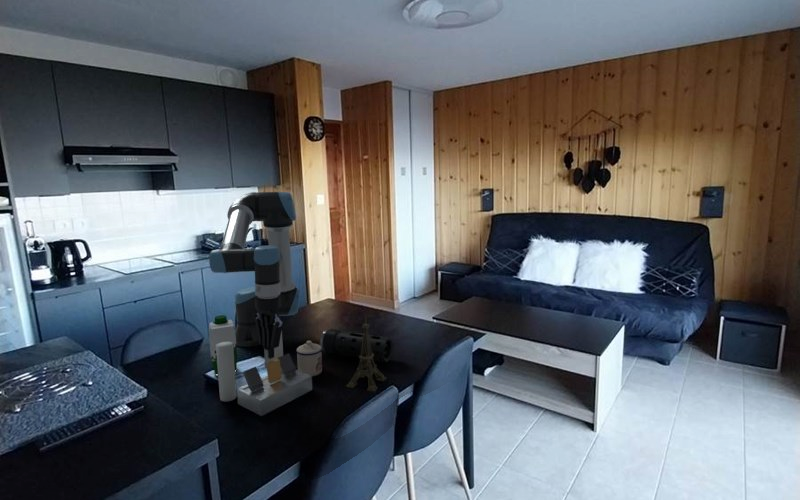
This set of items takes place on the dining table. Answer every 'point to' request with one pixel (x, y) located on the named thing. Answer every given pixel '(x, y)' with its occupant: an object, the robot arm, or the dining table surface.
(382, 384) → the dining table surface
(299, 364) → the teacup with lid
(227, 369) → the post near
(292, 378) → the block
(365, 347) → the eiffel tower
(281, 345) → the post far
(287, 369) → the paddle right
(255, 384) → the paddle left
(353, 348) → the muzzle brake
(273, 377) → the block
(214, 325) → the milk carton
